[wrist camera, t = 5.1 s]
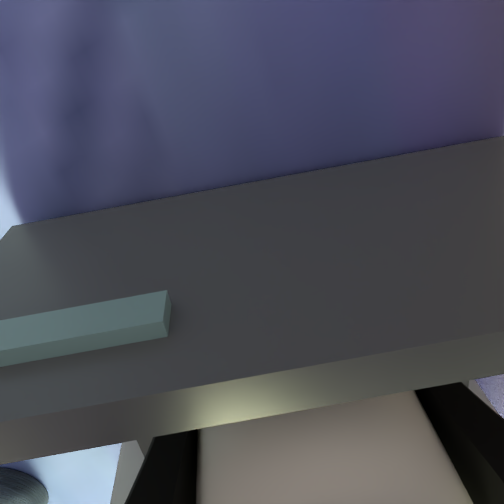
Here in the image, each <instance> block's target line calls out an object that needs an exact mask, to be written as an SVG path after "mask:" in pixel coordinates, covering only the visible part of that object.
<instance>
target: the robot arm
mask: <svg viewBox="0 0 504 504" xmlns="http://www.w3.org/2000/svg"><path fill="white" fill-rule="evenodd" d="M415 392H416V394H417V396H418V398H419V400H420V402H421V404H422V406H423V408H424V410H425V412H426V414H427V415H428V417H429V419H430V421H431V423H432V425H433V427H434V429H435V431H436V433H437V435H438V437H439V438H440V440H441V442H442V444H443V446H444V448H445V450H446V452H447V454H448V456H449V458H450V460H451V462H452V463H453V465H454V467H455V469H456V471H457V473H458V475H459V477H460V479H461V481H462V483H463V485H464V487H465V488H466V490H467V492H468V494H469V496H470V498H471V500H472V502H473V504H504V419H503V418H502V417H501V416H500V415H499V414H497V413H496V412H495V411H494V410H493V409H492V408H490V407H489V406H488V405H487V404H486V403H485V402H483V401H482V400H481V399H480V398H479V397H478V396H477V395H476V394H474V393H473V392H472V391H471V390H470V389H469V388H468V387H467V386H466V385H464V384H463V383H462V382H456V383H451V384H445V385H440V386H434V387H429V388H423V389H418V390H415ZM197 432H198V429H195V430H190V431H184V432H178V433H173V434H167V435H162V436H156V437H153V439H152V441H151V444H150V446H149V449H148V451H147V454H146V456H145V458H144V461H143V463H142V466H141V468H140V470H139V472H138V475H137V477H136V479H135V481H134V483H133V486H132V488H131V490H130V492H129V495H128V497H127V499H126V501H125V503H124V504H196V477H197Z"/></svg>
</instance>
